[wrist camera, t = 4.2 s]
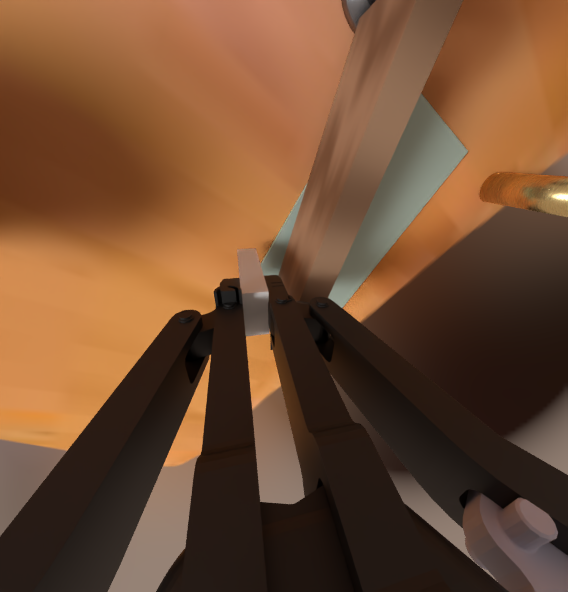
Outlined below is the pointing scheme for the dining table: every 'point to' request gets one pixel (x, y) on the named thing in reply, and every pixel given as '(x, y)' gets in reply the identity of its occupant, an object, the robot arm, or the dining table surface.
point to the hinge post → (355, 10)
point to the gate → (362, 135)
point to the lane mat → (388, 199)
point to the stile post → (527, 192)
